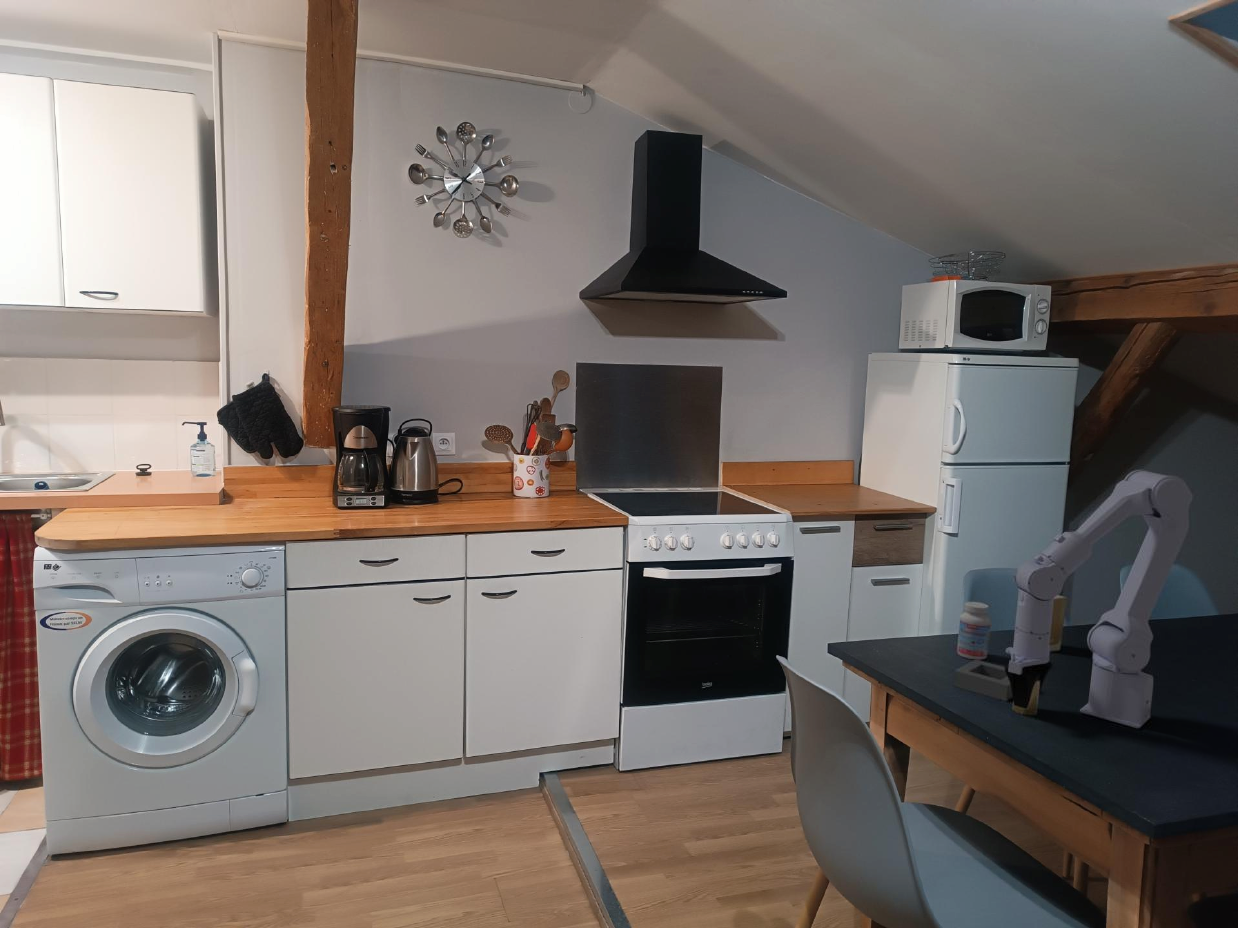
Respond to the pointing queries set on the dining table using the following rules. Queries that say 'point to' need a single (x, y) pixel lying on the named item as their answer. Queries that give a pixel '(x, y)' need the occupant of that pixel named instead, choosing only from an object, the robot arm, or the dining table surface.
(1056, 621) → the skincare box
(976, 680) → the coupling block
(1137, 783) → the dining table surface
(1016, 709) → the brass cylinder
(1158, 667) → the dining table surface
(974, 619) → the pill bottle
